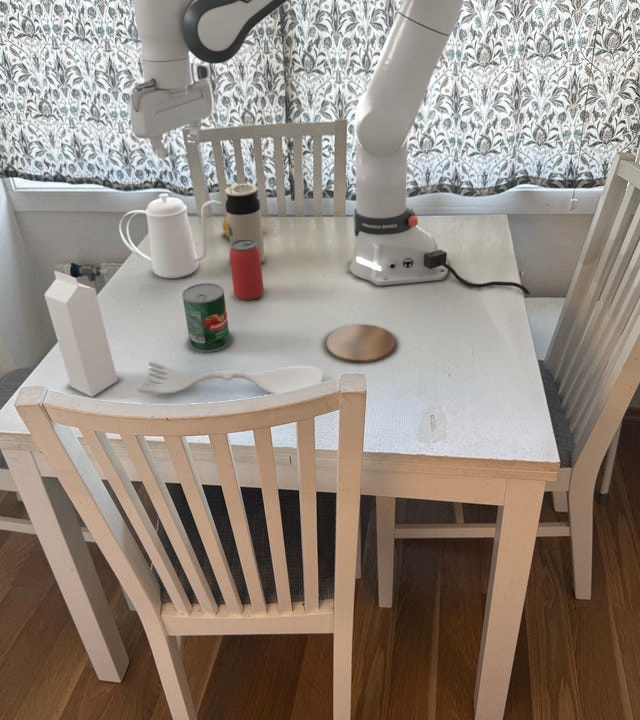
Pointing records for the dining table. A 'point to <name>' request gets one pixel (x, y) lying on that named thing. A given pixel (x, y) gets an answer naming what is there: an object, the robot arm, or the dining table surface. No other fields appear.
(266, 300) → the dining table surface
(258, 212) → the travel mug
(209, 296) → the canned tomato
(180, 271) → the coffeepot
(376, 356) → the wooden trivet
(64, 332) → the milk
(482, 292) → the dining table surface
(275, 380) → the white serving fork
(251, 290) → the beer can
